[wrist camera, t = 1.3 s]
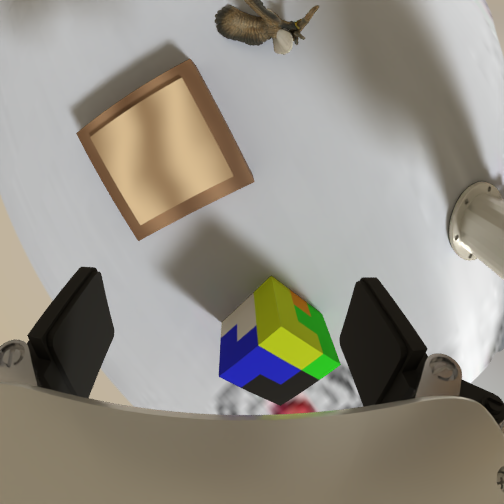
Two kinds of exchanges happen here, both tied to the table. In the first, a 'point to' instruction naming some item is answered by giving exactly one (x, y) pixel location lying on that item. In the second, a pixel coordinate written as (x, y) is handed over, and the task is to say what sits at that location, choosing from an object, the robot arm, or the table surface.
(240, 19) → the eagle figurine
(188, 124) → the walnut tray
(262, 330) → the puzzle toy
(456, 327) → the table surface
